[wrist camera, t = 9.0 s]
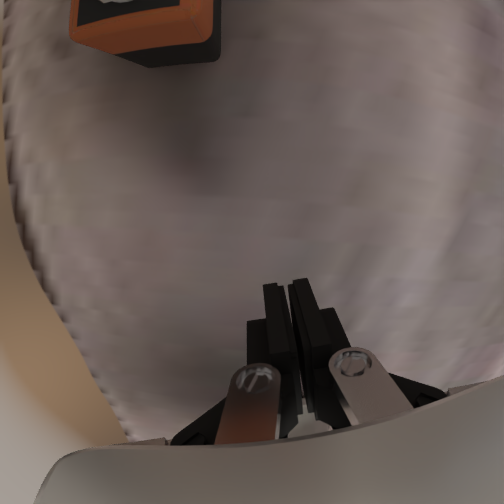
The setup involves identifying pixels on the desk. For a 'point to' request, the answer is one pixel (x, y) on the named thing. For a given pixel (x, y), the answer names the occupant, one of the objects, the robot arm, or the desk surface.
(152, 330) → the desk surface
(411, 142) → the desk surface
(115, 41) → the battery
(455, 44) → the desk surface
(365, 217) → the desk surface
